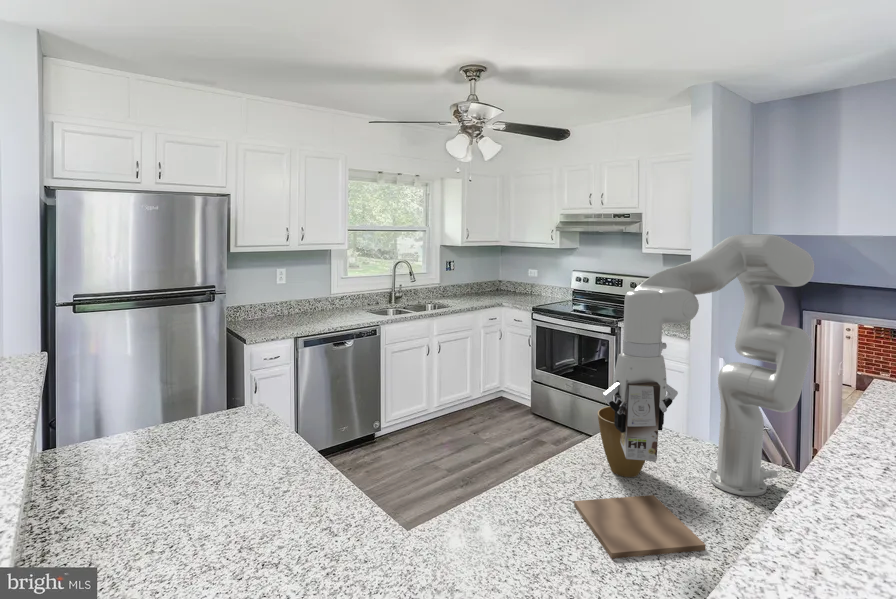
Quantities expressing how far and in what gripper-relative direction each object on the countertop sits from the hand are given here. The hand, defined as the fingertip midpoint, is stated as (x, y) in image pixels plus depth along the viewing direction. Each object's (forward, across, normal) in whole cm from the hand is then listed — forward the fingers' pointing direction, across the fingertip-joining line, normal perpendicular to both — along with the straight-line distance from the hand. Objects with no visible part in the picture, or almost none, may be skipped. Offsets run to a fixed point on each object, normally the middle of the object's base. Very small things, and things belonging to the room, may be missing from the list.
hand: (638, 428), depth 108 cm
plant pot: (+23, -10, -25) cm, 35 cm away
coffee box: (+5, 0, 0) cm, 5 cm away
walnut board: (+22, 0, 0) cm, 22 cm away
